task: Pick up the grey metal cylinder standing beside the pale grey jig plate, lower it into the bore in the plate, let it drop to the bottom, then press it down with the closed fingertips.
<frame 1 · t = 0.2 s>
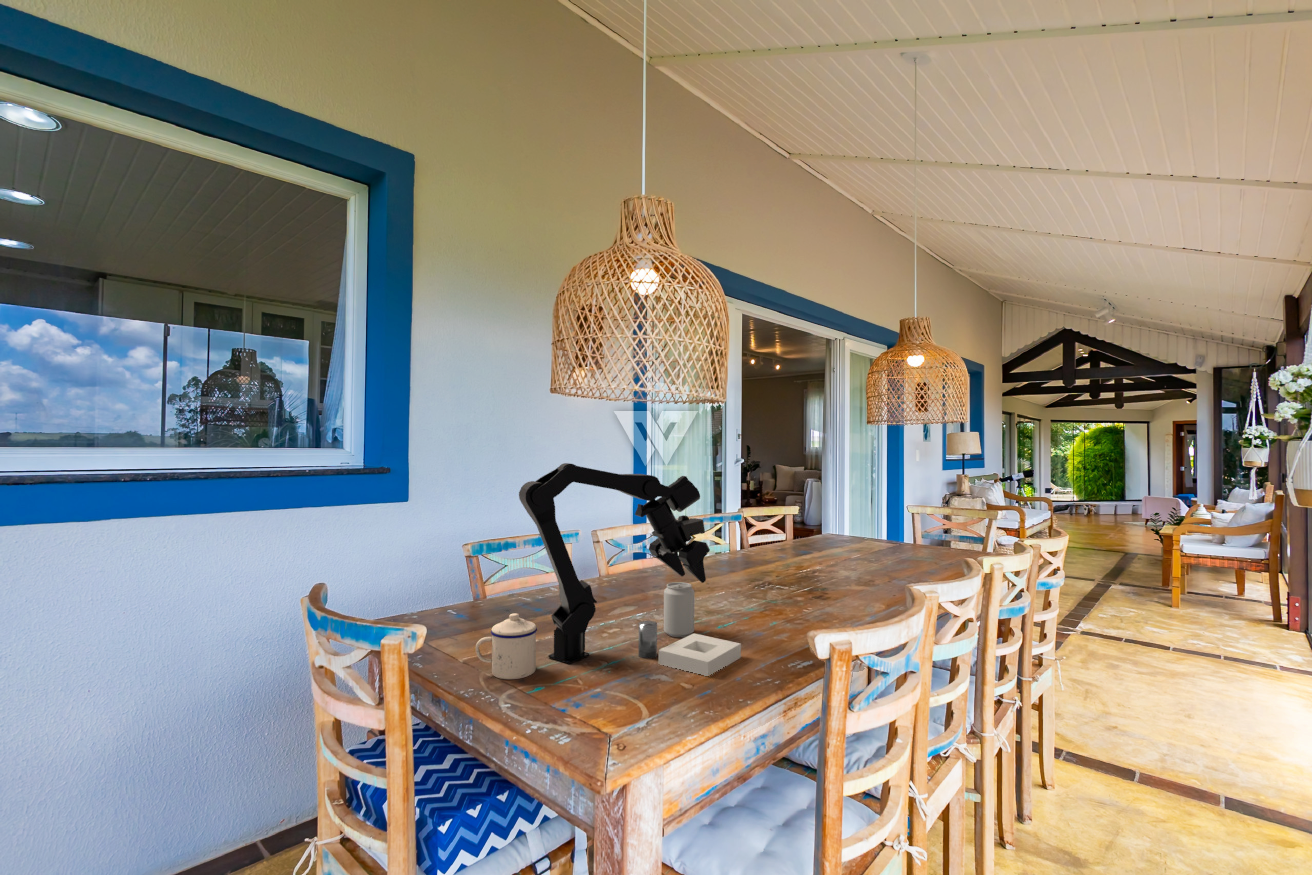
hand: (693, 578, 148), 14 cm above the table, tool tilted 30°, fingers open, 9 cm apart
can: (678, 634, 152), on the table
jig: (700, 660, 134), on the table
teacup with lid: (506, 673, 126), on the table
grey metal cylinder: (647, 655, 137), on the table
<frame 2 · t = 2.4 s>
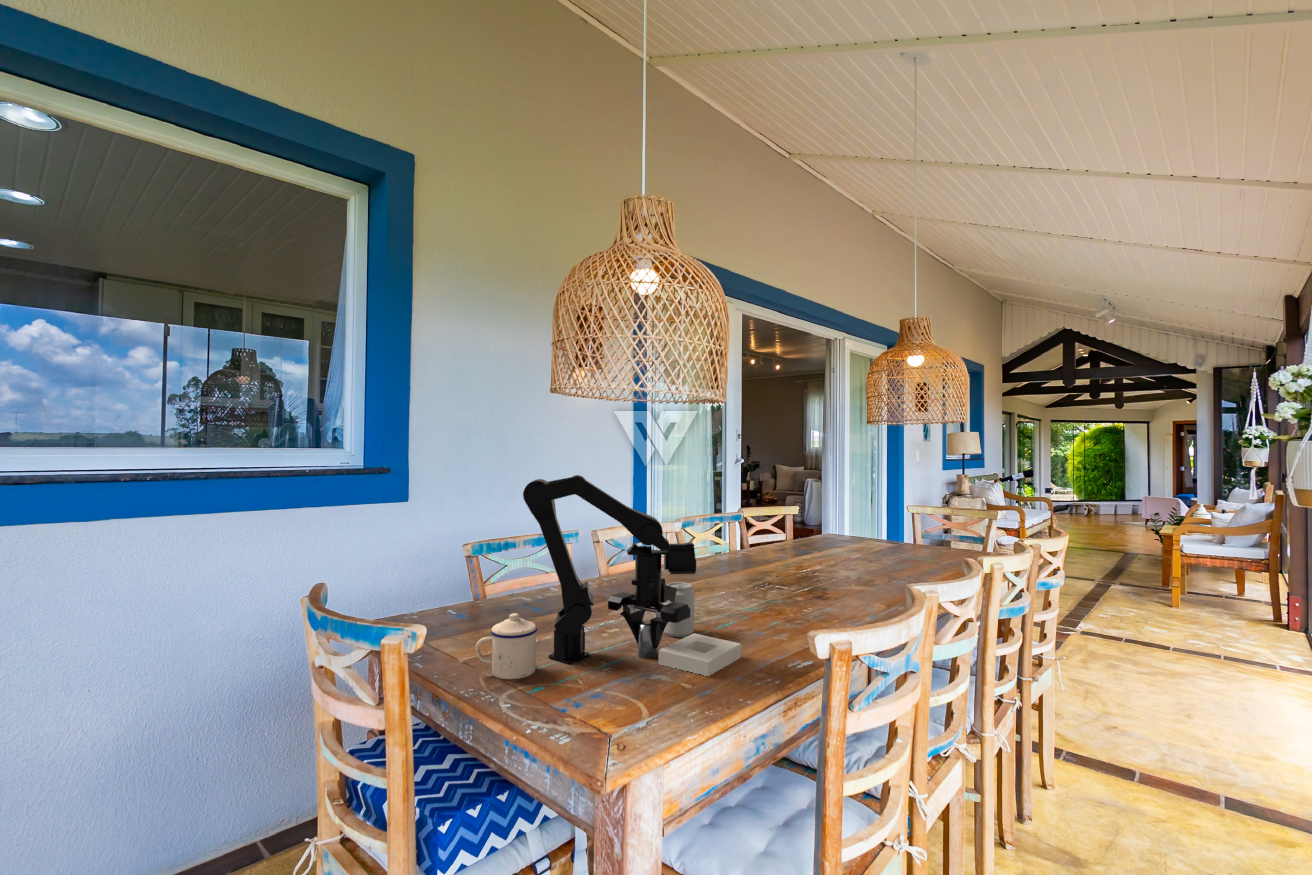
hand: (647, 645, 137), 2 cm above the table, tool pointing down, fingers closed on grey metal cylinder, 4 cm apart
grey metal cylinder: (647, 655, 137), on the table, touching gripper
everything else where it was.
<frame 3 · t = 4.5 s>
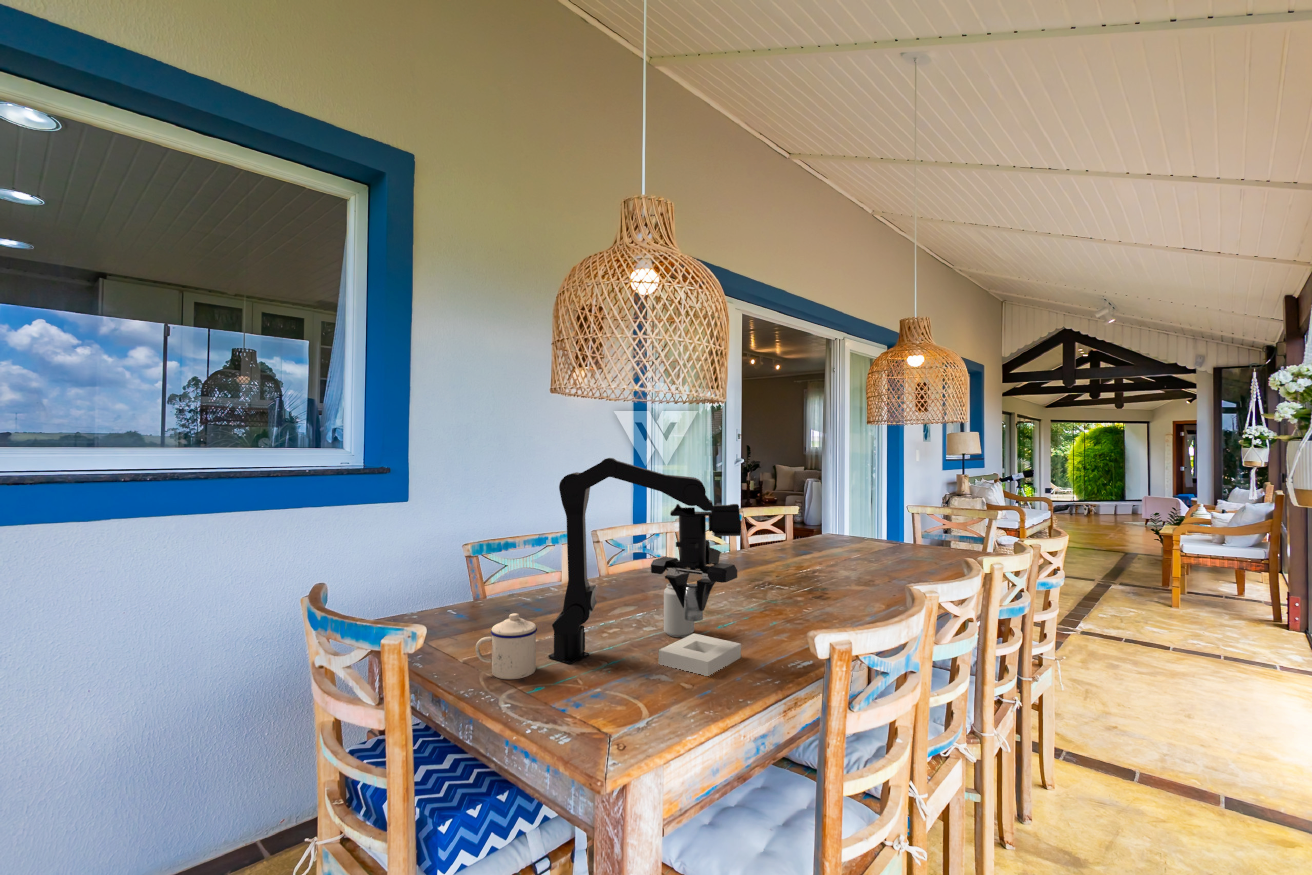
hand: (693, 609, 134), 11 cm above the table, tool pointing down, fingers closed on grey metal cylinder, 4 cm apart
grey metal cylinder: (693, 618, 134), point 9 cm above the table, touching gripper
everything else where it was.
when the fingers open (4 cm above the table, at t = 6.8 s): grey metal cylinder drops 2 cm, resting in jig.
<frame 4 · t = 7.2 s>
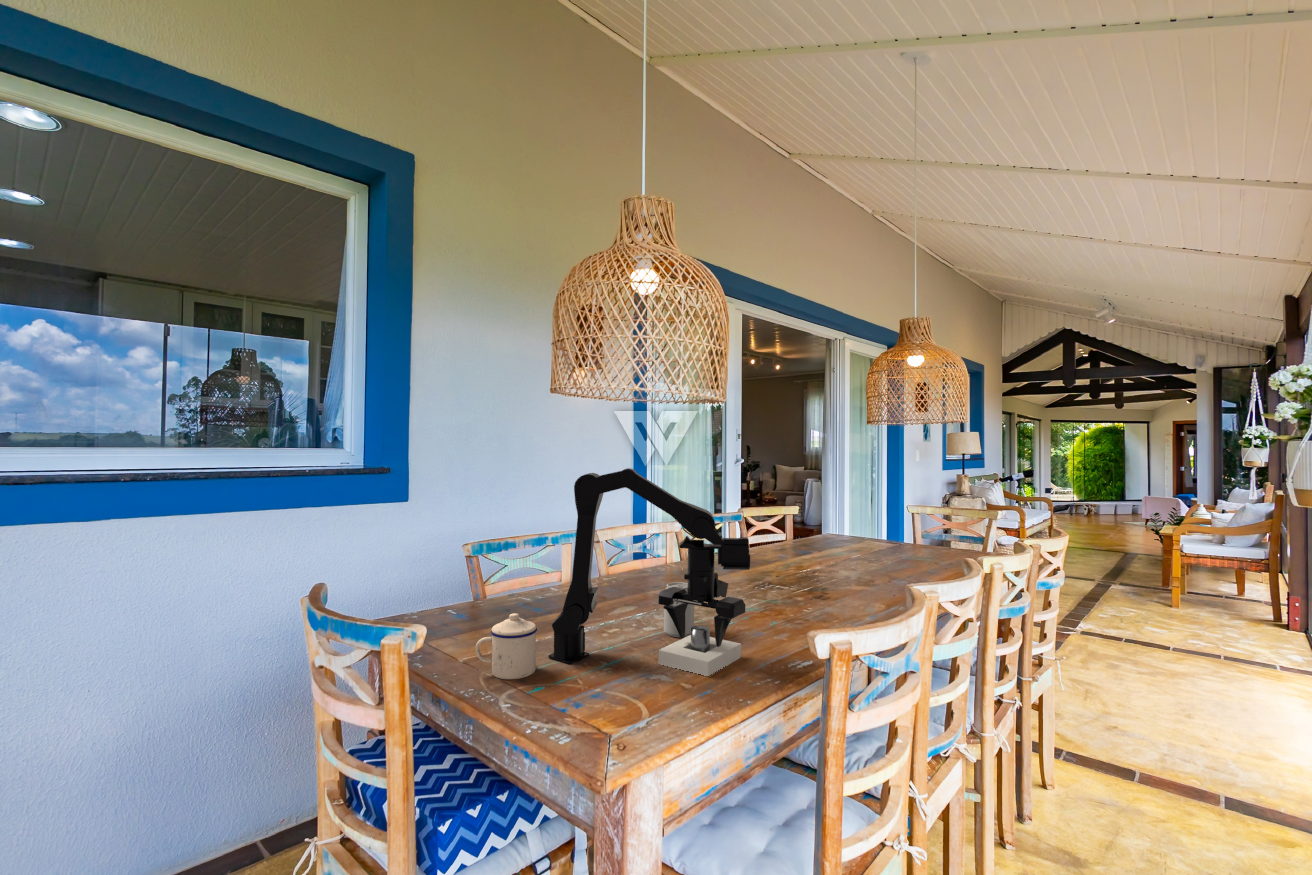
hand: (700, 641, 134), 4 cm above the table, tool pointing down, fingers open, 9 cm apart
grey metal cylinder: (700, 660, 134), resting in jig
everything else where it was.
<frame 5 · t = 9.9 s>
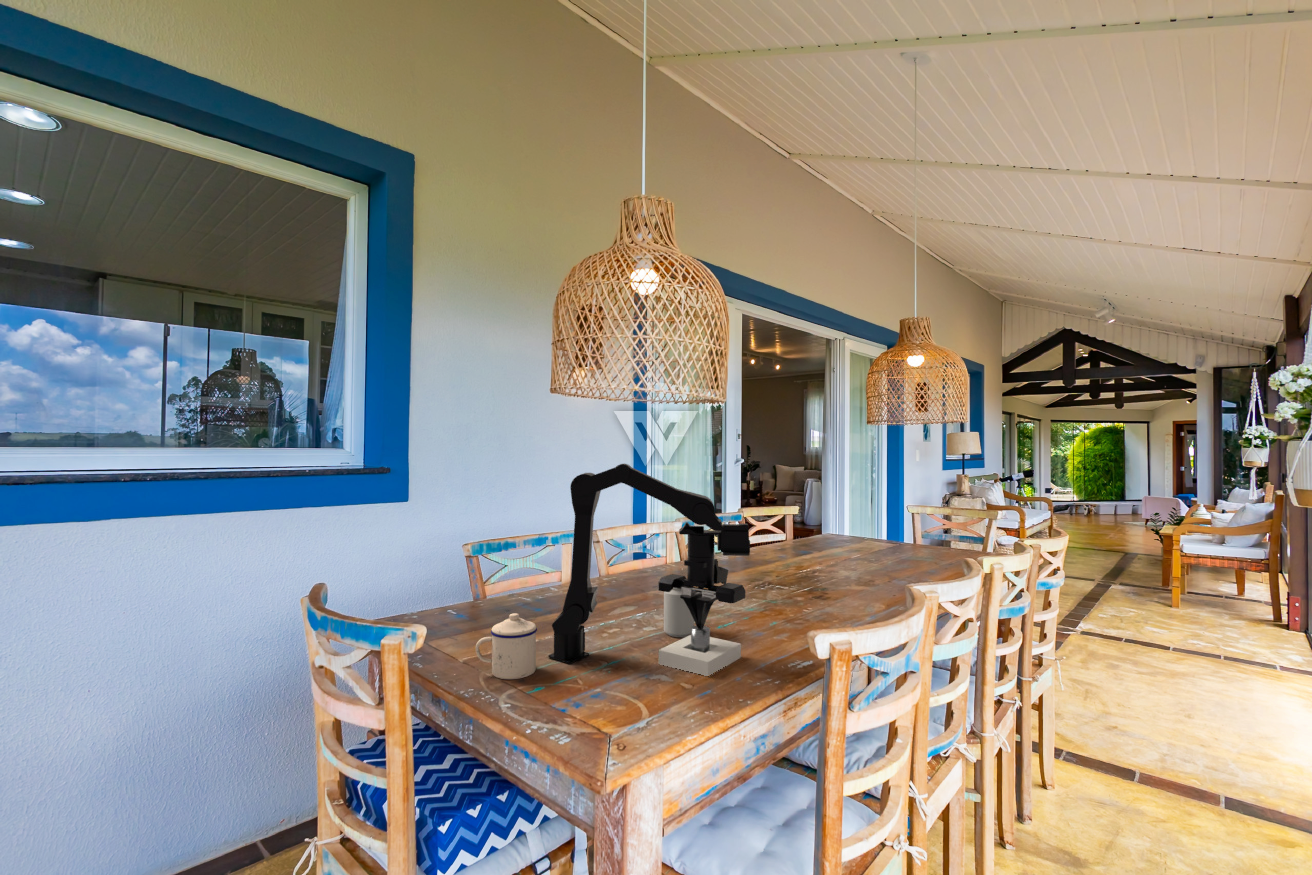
hand: (700, 628, 134), 7 cm above the table, tool pointing down, fingers closed, pressing on grey metal cylinder
grey metal cylinder: (700, 660, 134), resting in jig, touching gripper
everything else where it was.
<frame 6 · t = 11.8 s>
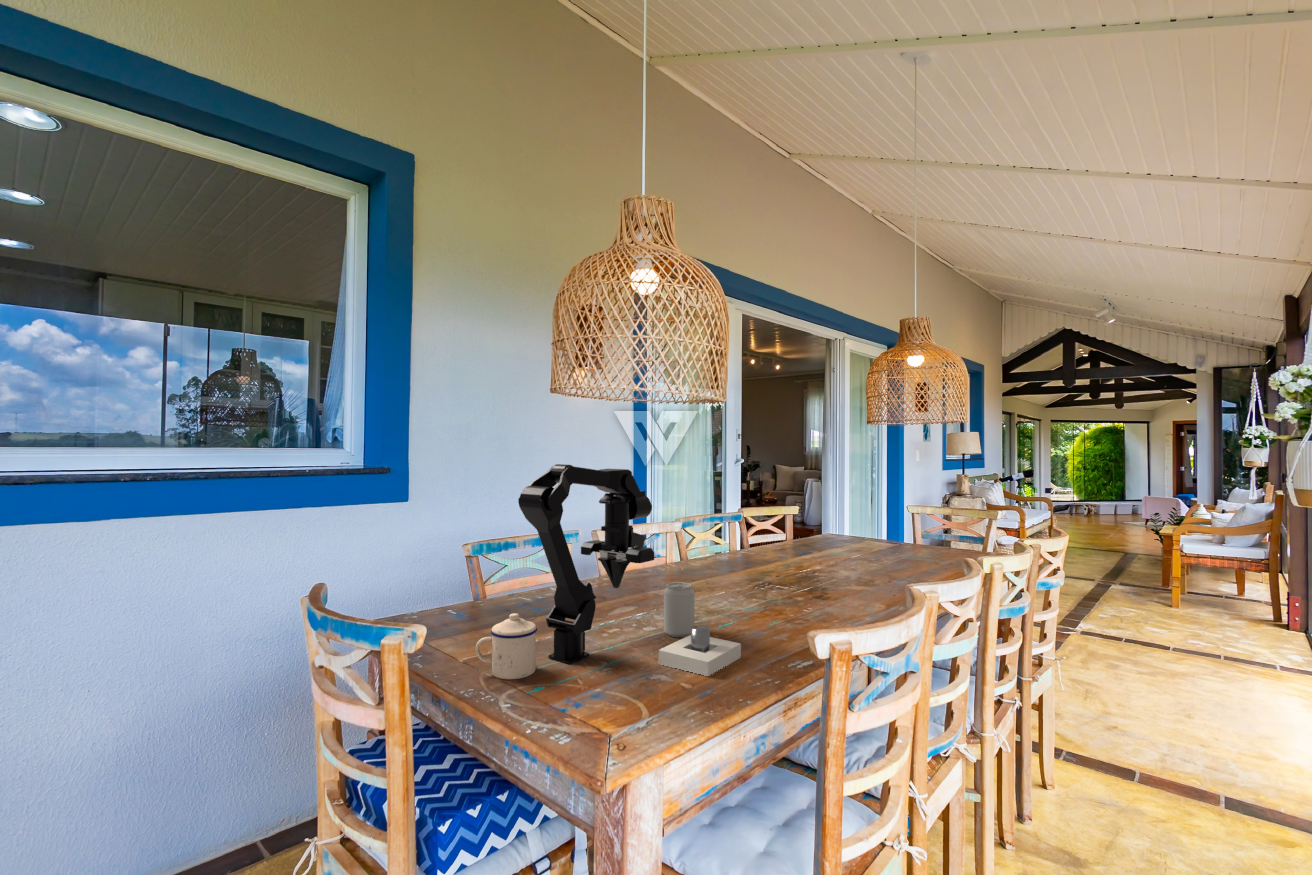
hand: (616, 587, 148), 12 cm above the table, tool pointing down, fingers closed
grey metal cylinder: (700, 660, 134), resting in jig
everything else where it was.
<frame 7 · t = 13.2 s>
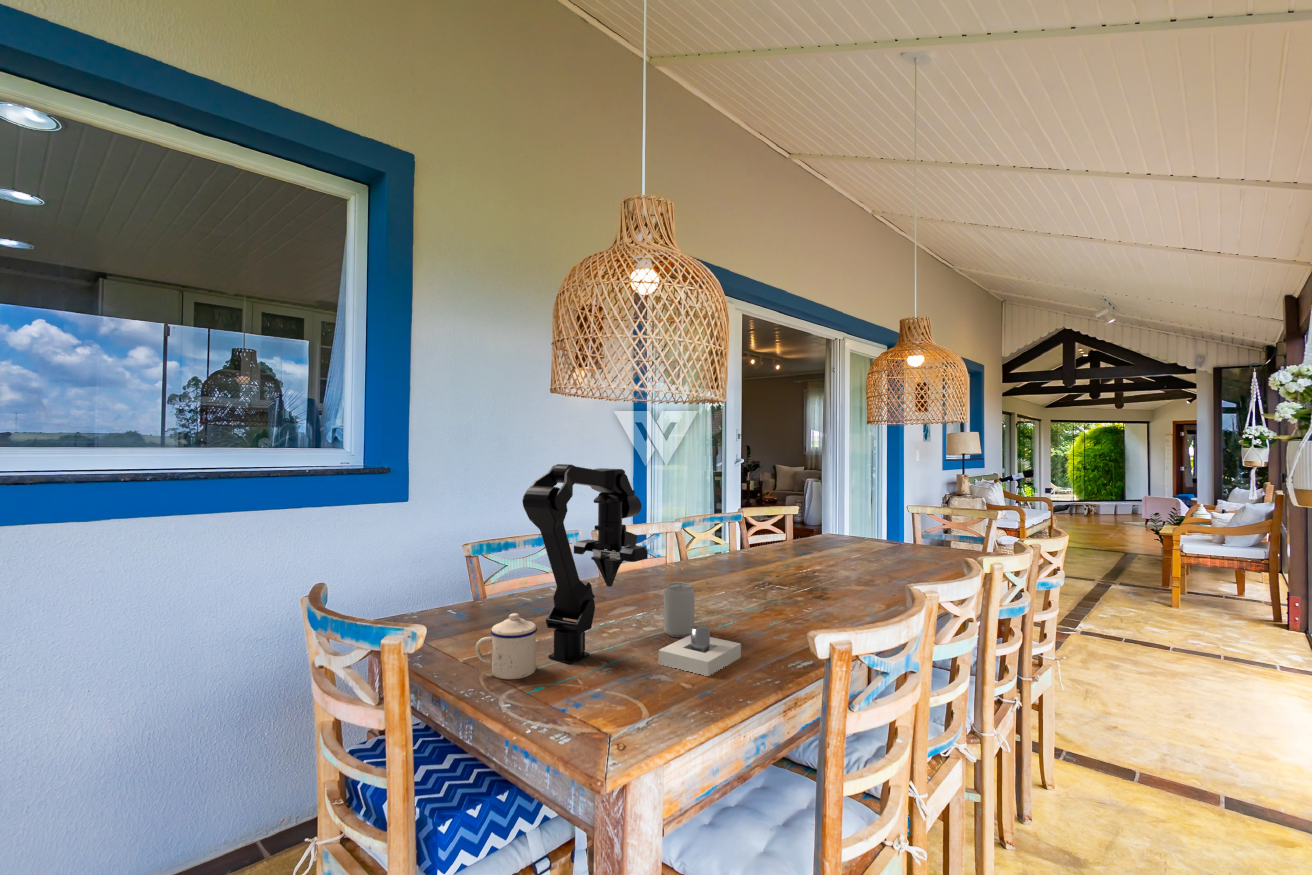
hand: (609, 586, 149), 12 cm above the table, tool pointing down, fingers closed
nothing on the table moved.
at the end: grey metal cylinder 0.1 cm off-centre on the jig, point 0.0 cm above the jig's base; grey metal cylinder tilted 0°; the gripper is holding nothing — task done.
